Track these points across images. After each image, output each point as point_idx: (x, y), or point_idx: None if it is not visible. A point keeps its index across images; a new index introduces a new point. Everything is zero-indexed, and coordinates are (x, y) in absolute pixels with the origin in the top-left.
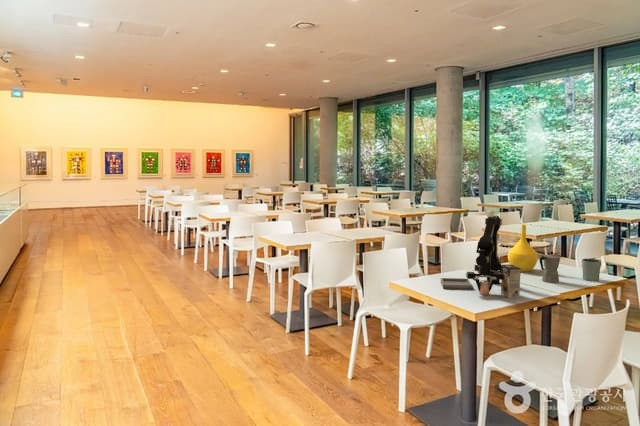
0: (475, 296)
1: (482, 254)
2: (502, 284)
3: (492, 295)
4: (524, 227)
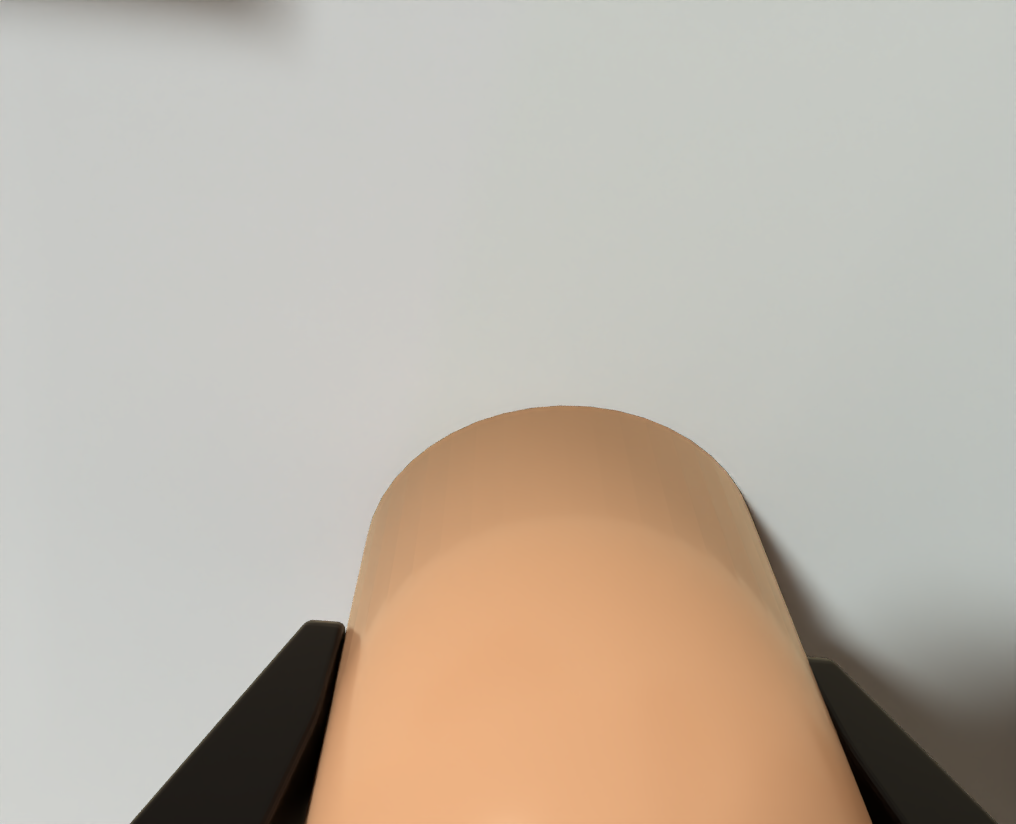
0: None
1: None
2: None
3: None
4: None
